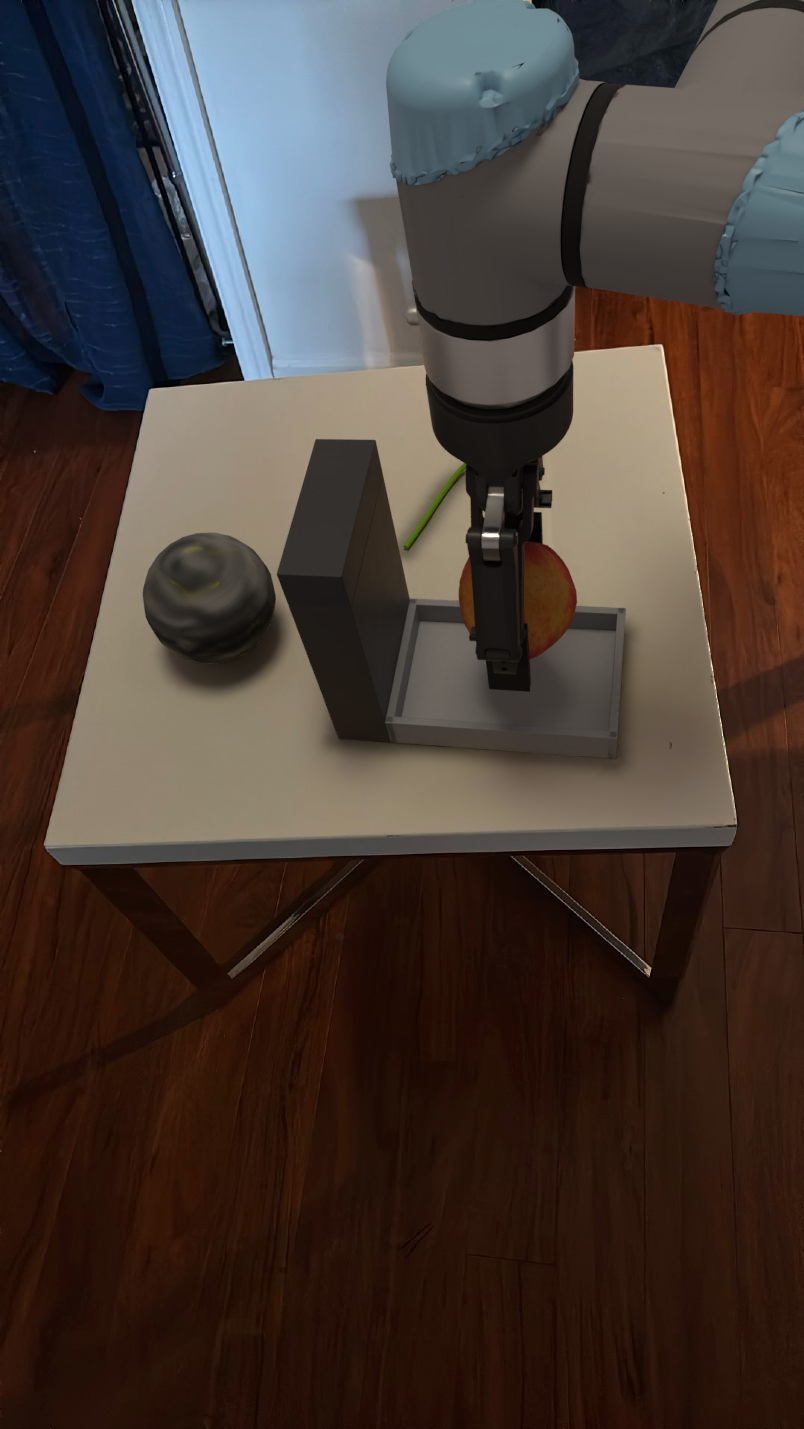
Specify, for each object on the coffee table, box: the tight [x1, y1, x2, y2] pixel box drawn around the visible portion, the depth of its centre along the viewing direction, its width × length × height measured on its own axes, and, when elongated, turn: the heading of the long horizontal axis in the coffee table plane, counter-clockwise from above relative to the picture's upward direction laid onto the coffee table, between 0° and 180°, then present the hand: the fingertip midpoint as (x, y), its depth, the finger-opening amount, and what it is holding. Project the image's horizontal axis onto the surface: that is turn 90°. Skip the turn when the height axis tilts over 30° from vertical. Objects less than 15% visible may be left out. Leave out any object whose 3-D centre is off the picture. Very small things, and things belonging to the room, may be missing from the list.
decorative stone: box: [142, 532, 277, 665], centre depth 79 cm, size 10×10×10 cm
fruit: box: [458, 541, 578, 659], centre depth 68 cm, size 8×8×8 cm
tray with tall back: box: [276, 438, 627, 760], centre depth 70 cm, size 20×11×19 cm, turn 80°
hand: (517, 630), depth 71 cm, fingers closed on fruit, 8 cm apart
